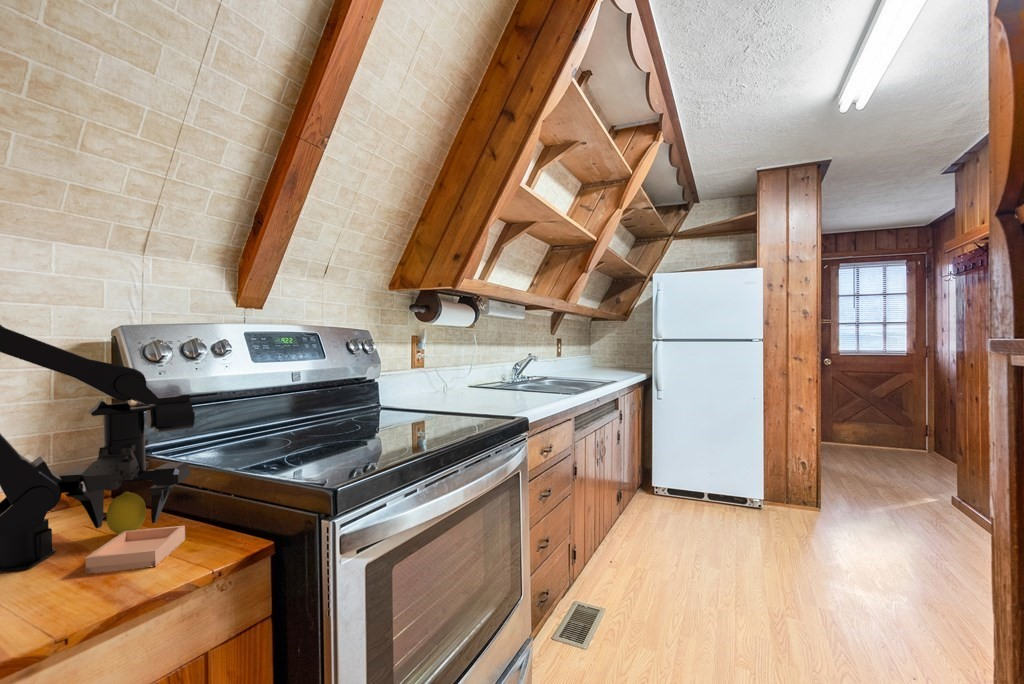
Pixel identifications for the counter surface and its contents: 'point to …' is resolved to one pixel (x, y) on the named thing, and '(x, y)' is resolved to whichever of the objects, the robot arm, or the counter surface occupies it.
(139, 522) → the lemon
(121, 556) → the dish
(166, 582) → the counter surface
